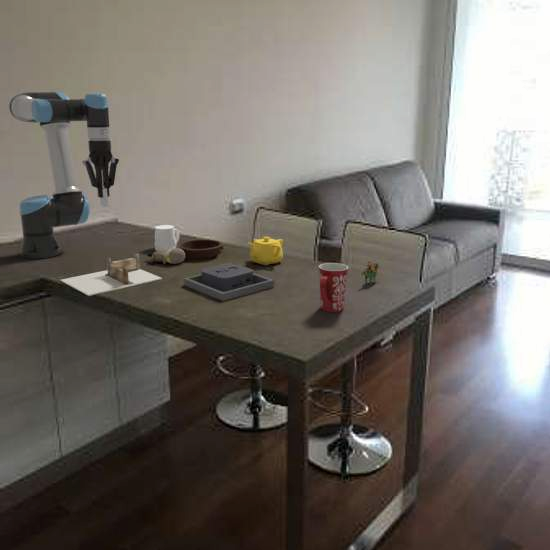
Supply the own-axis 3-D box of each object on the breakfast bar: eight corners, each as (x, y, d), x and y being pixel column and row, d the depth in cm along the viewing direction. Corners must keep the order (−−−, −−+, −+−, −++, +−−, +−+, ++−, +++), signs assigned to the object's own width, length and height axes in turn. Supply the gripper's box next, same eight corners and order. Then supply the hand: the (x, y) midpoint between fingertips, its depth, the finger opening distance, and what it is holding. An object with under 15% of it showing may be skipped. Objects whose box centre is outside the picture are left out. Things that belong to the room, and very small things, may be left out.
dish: (235, 255, 248) (235, 243, 247) (189, 265, 235) (188, 252, 233) (211, 247, 261) (211, 236, 260) (166, 255, 248) (166, 244, 246)
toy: (145, 264, 238) (176, 266, 231) (143, 249, 237) (174, 250, 230) (160, 259, 246) (191, 261, 239) (159, 245, 245) (189, 246, 238)
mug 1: (161, 230, 250) (149, 227, 255) (162, 252, 252) (150, 248, 258) (183, 225, 258) (172, 223, 263) (184, 246, 261) (173, 243, 266)
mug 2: (325, 301, 195) (326, 261, 191) (351, 306, 190) (353, 265, 186) (306, 313, 184) (307, 270, 180) (333, 318, 180) (335, 275, 176)
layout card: (60, 280, 214) (60, 279, 214) (131, 266, 232) (131, 264, 232) (88, 296, 198) (88, 294, 198) (162, 279, 216) (162, 277, 216)
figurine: (381, 280, 216) (382, 258, 214) (363, 288, 208) (365, 265, 205) (373, 278, 218) (375, 256, 216) (356, 286, 209) (357, 264, 207)
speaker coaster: (184, 285, 210) (183, 278, 209) (234, 273, 224) (233, 266, 223) (222, 301, 194) (222, 293, 194) (273, 287, 208) (273, 280, 208)
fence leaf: (109, 275, 218) (108, 261, 217) (113, 274, 219) (112, 260, 218) (124, 283, 208) (123, 269, 207) (129, 282, 209) (128, 268, 208)
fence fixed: (109, 276, 219) (108, 259, 217) (107, 275, 220) (105, 258, 218) (140, 270, 227) (139, 253, 225) (138, 269, 228) (137, 252, 227)
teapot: (280, 268, 230) (280, 242, 227) (247, 267, 232) (246, 241, 229) (284, 259, 243) (284, 234, 240) (252, 257, 245) (252, 232, 242)
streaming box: (229, 275, 222) (229, 262, 220) (256, 284, 212) (256, 270, 210) (198, 284, 212) (197, 270, 210) (224, 293, 202) (224, 279, 201)
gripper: (86, 141, 205) (92, 209, 212) (121, 139, 214) (126, 205, 221) (77, 139, 211) (83, 206, 217) (111, 138, 219) (116, 202, 226)
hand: (104, 206), depth 219 cm, fingers closed
